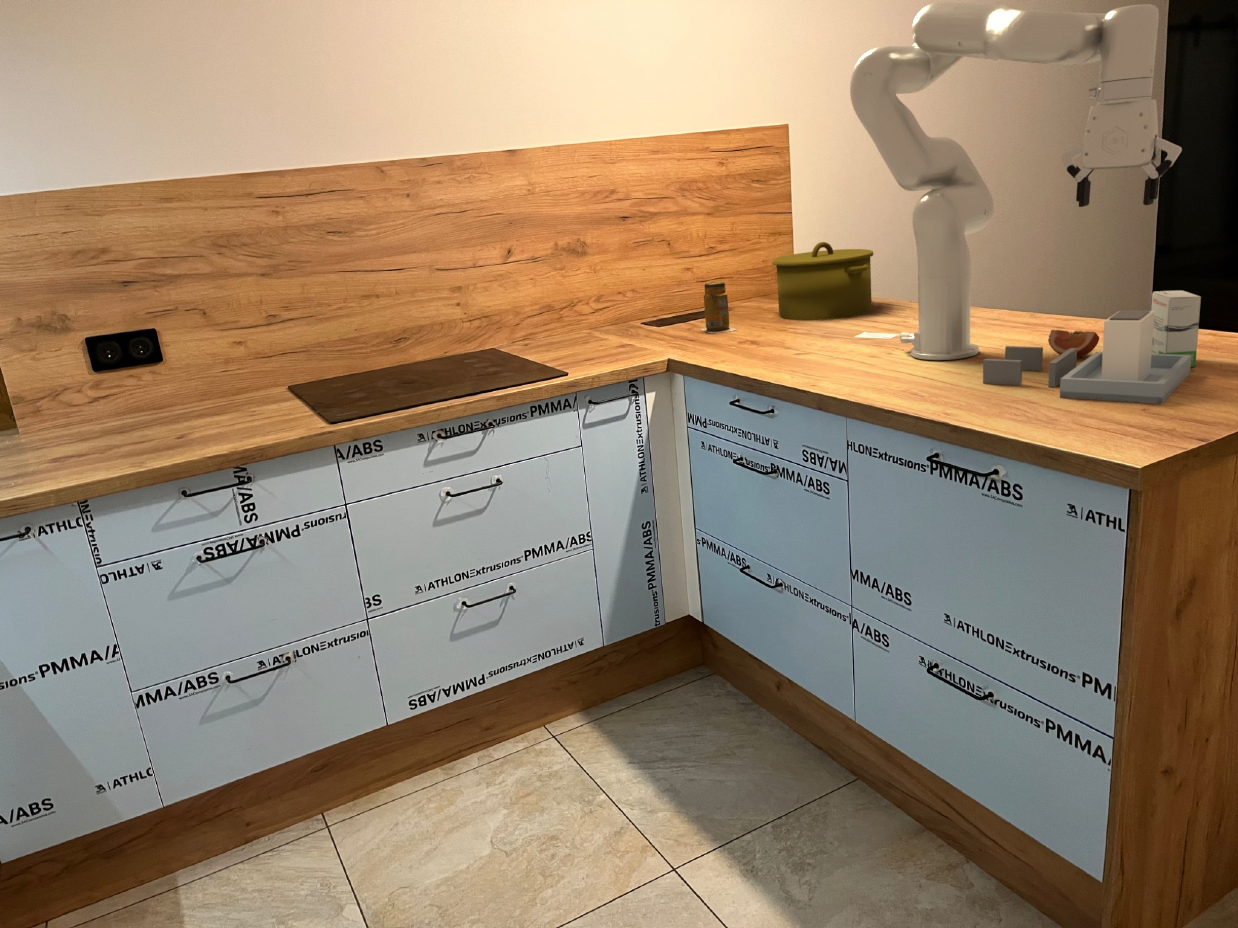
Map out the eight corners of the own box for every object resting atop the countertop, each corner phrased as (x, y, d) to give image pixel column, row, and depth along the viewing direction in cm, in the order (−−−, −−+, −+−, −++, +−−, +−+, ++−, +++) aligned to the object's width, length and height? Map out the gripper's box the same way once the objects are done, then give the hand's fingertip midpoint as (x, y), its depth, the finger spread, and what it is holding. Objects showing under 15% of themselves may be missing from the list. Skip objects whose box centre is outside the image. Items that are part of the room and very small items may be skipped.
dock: (983, 383, 156) (983, 360, 155) (1006, 368, 165) (1007, 346, 164) (1054, 387, 149) (1055, 363, 148) (1075, 371, 157) (1076, 348, 156)
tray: (1059, 397, 143) (1060, 378, 142) (1095, 369, 157) (1096, 352, 156) (1162, 404, 134) (1163, 384, 133) (1189, 373, 148) (1191, 355, 147)
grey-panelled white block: (1101, 384, 144) (1104, 319, 141) (1115, 372, 150) (1119, 309, 147) (1136, 386, 141) (1140, 319, 138) (1150, 373, 147) (1154, 309, 144)
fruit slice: (1040, 358, 169) (1041, 331, 168) (1062, 351, 173) (1063, 325, 171) (1084, 363, 162) (1085, 335, 161) (1105, 356, 166) (1107, 328, 164)
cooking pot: (751, 316, 252) (746, 248, 246) (823, 301, 263) (821, 236, 258) (825, 325, 226) (822, 249, 221) (902, 308, 238) (901, 235, 232)
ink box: (1197, 367, 151) (1202, 295, 148) (1164, 369, 152) (1169, 298, 149) (1177, 357, 159) (1182, 288, 156) (1146, 359, 160) (1150, 290, 157)
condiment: (726, 326, 241) (723, 280, 237) (737, 330, 233) (734, 282, 229) (699, 330, 239) (696, 283, 236) (710, 334, 231) (706, 286, 228)
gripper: (1058, 99, 148) (1051, 209, 153) (1181, 87, 136) (1168, 206, 142) (1074, 98, 153) (1067, 204, 158) (1193, 86, 141) (1181, 201, 147)
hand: (1115, 205), depth 150 cm, fingers open, 9 cm apart
